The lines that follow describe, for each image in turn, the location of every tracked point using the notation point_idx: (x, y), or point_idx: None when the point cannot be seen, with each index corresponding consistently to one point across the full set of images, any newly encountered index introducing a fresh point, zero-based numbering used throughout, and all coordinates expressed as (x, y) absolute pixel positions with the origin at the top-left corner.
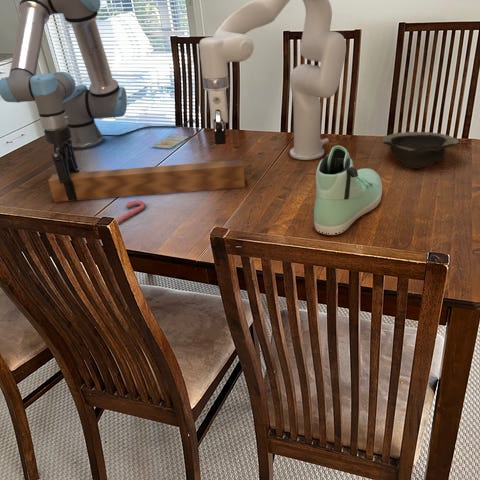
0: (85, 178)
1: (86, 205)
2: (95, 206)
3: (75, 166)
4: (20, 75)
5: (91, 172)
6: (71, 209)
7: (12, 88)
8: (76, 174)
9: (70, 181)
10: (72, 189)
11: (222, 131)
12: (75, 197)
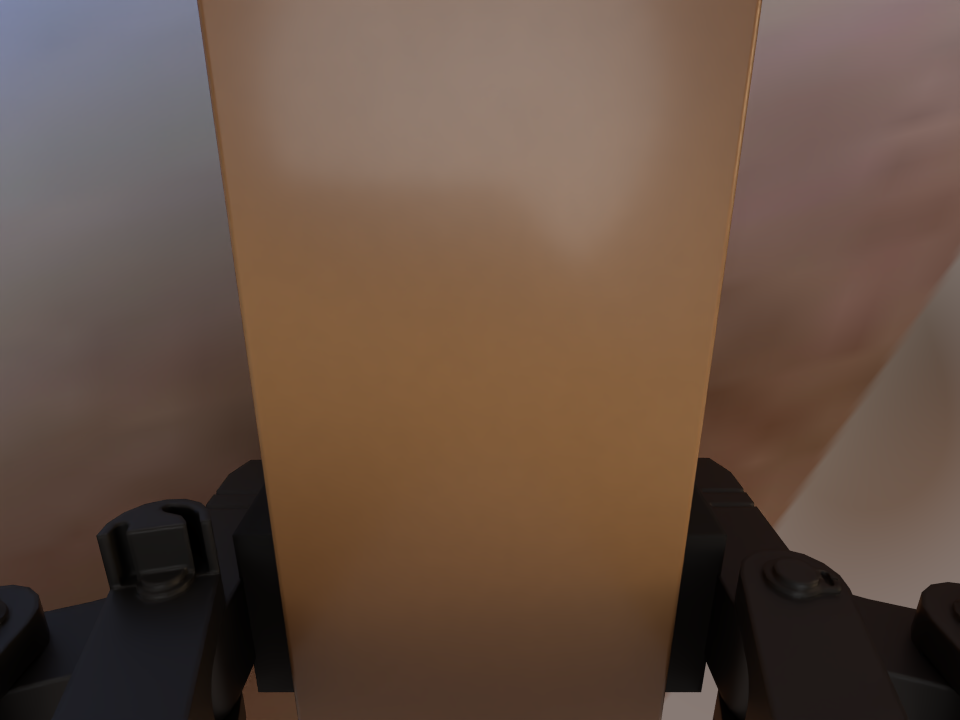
0: (728, 190)
1: (793, 181)
2: (883, 15)
3: (2, 680)
4: None
5: (302, 70)
6: (846, 366)
7: None
8: (407, 522)
9: (785, 560)
10: None
11: None
12: None
